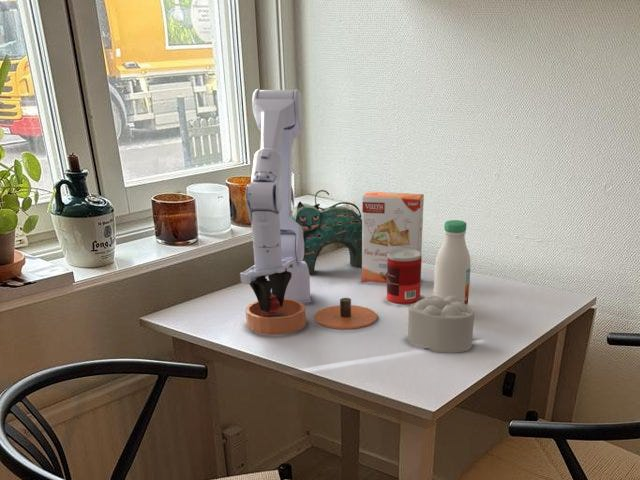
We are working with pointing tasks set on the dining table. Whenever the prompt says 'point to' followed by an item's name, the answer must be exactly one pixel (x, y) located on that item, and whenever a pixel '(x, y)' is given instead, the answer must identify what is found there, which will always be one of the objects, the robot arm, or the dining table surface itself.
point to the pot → (276, 318)
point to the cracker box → (388, 229)
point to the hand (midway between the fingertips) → (271, 308)
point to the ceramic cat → (329, 230)
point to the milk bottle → (453, 263)
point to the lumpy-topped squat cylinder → (441, 324)
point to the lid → (345, 316)
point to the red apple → (274, 304)
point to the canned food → (403, 276)
